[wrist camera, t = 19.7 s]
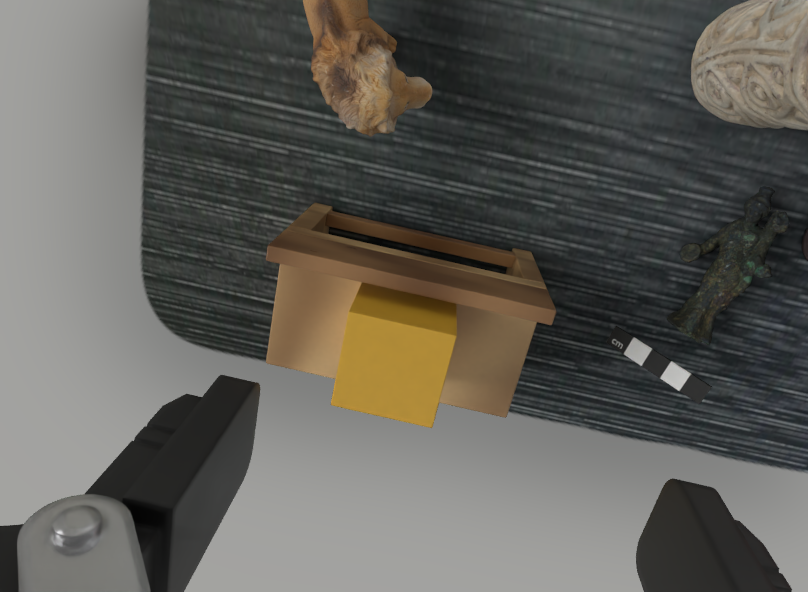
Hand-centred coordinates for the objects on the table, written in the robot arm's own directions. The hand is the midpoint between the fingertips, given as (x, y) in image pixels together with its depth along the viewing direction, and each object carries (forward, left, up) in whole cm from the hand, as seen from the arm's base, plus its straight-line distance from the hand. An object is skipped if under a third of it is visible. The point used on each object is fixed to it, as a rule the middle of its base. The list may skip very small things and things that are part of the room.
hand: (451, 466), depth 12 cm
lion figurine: (+1, -12, -27) cm, 30 cm away
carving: (-18, -1, -27) cm, 32 cm away
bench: (+5, +4, -27) cm, 28 cm away
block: (+5, +4, -20) cm, 21 cm away
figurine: (-12, +10, -27) cm, 31 cm away
